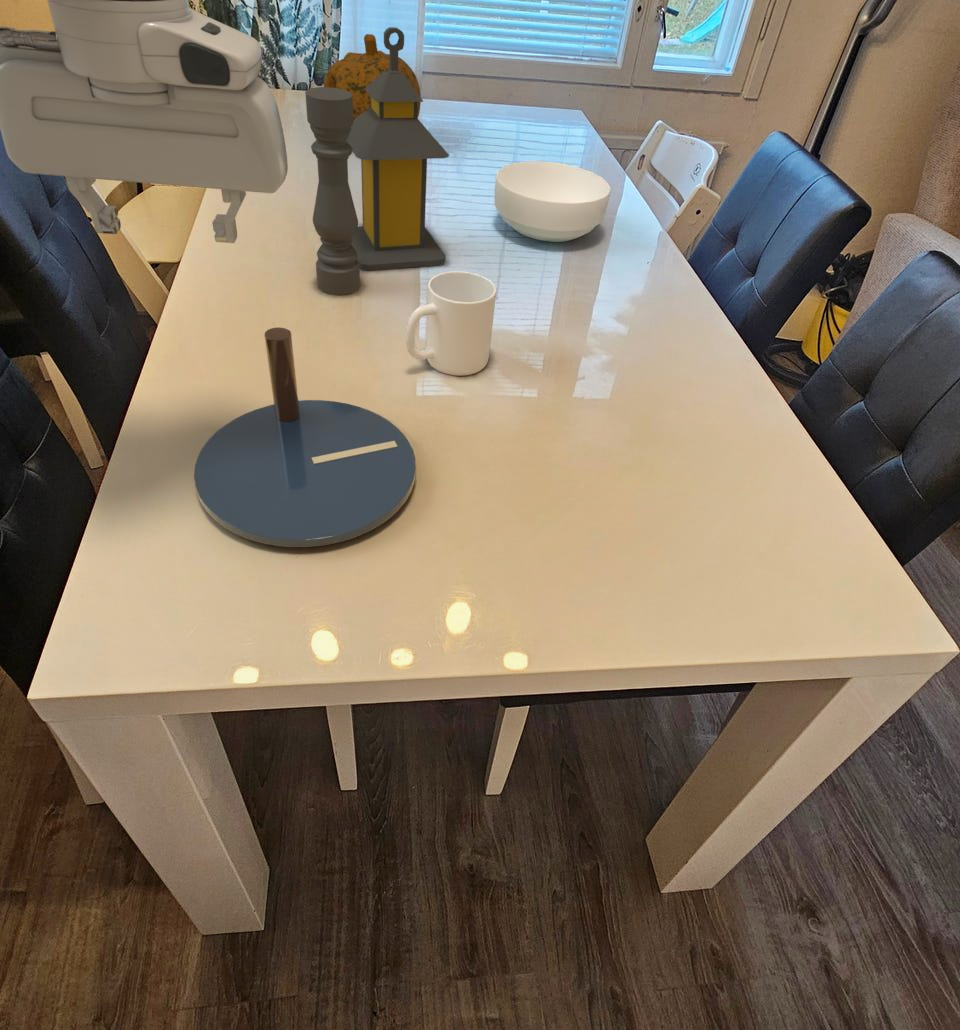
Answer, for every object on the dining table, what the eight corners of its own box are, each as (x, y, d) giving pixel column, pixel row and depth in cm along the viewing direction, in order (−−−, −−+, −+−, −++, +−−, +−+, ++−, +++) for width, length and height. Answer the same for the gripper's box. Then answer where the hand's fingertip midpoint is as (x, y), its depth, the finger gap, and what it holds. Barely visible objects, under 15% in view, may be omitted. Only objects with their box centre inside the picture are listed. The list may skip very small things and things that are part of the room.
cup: (500, 366, 92) (510, 293, 85) (423, 392, 86) (426, 316, 79) (464, 337, 96) (469, 266, 89) (388, 359, 91) (388, 285, 84)
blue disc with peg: (217, 573, 62) (193, 479, 54) (180, 427, 76) (157, 336, 68) (448, 515, 70) (455, 426, 62) (376, 393, 84) (375, 307, 76)
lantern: (447, 264, 112) (460, 42, 91) (360, 271, 108) (353, 39, 87) (422, 228, 121) (429, 18, 100) (340, 233, 117) (330, 14, 96)
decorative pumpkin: (432, 129, 158) (430, 23, 143) (408, 167, 145) (403, 55, 130) (346, 119, 161) (335, 14, 146) (314, 156, 147) (299, 44, 132)
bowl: (583, 264, 116) (593, 213, 111) (474, 236, 120) (478, 185, 115) (612, 224, 130) (622, 176, 124) (512, 200, 134) (518, 153, 128)
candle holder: (318, 274, 105) (304, 85, 88) (360, 276, 106) (354, 88, 89) (316, 294, 101) (301, 98, 84) (359, 295, 102) (354, 102, 85)
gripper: (-55, 32, 46) (20, 241, 55) (267, 64, 48) (286, 261, 57) (-11, 14, 50) (51, 210, 60) (282, 45, 52) (296, 230, 62)
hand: (168, 235), depth 59 cm, fingers open, 8 cm apart
